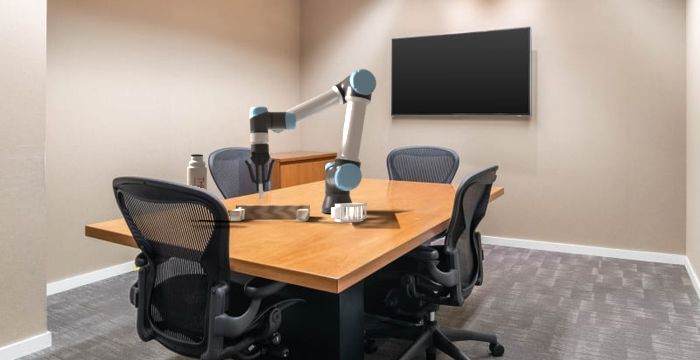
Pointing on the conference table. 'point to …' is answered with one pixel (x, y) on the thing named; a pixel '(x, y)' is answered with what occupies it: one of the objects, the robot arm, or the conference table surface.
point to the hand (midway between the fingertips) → (261, 199)
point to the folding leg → (237, 214)
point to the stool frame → (276, 212)
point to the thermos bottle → (197, 172)
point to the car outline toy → (349, 212)
